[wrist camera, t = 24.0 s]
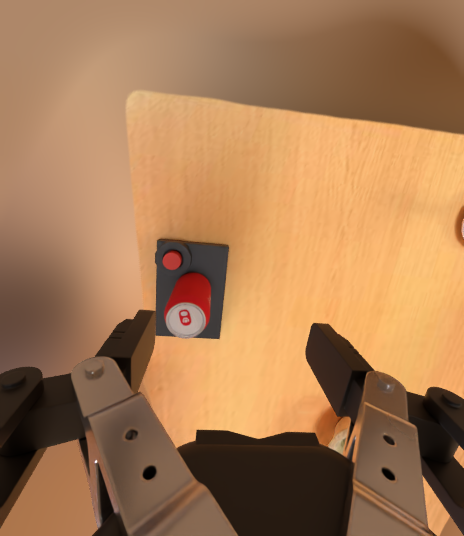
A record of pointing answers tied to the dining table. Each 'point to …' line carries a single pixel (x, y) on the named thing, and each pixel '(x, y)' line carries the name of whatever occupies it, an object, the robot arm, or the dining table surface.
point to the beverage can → (188, 306)
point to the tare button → (172, 260)
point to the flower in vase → (463, 228)
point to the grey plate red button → (193, 261)
